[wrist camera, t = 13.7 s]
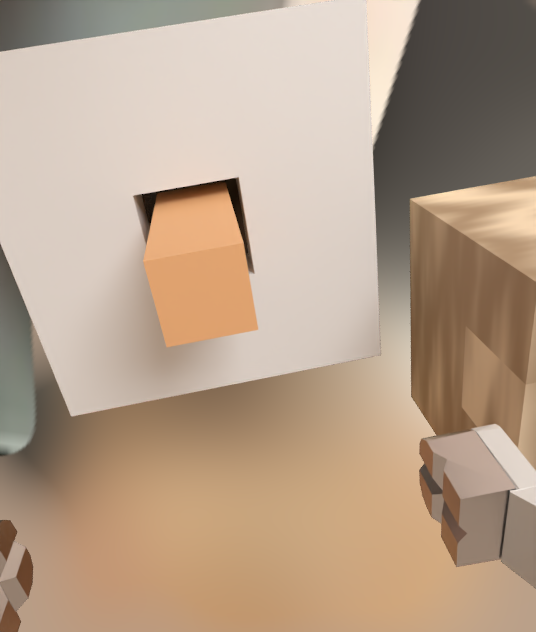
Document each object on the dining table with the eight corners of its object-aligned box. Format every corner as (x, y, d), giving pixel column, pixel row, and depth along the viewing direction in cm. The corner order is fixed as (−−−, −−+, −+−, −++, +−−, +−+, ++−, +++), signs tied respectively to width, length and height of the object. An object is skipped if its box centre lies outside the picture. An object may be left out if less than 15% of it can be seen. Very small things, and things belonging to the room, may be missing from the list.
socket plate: (346, 1, 24) (366, -5, 21) (365, 330, 33) (381, 355, 30) (-44, 62, 23) (-74, 63, 20) (81, 385, 31) (71, 416, 29)
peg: (225, 181, 27) (243, 243, 18) (236, 244, 29) (258, 329, 20) (157, 192, 27) (143, 261, 18) (172, 256, 29) (166, 347, 20)
